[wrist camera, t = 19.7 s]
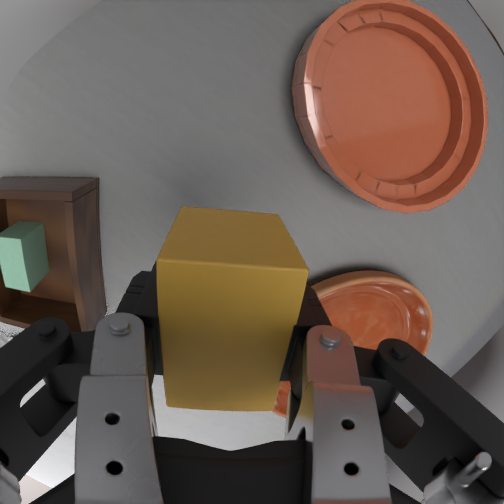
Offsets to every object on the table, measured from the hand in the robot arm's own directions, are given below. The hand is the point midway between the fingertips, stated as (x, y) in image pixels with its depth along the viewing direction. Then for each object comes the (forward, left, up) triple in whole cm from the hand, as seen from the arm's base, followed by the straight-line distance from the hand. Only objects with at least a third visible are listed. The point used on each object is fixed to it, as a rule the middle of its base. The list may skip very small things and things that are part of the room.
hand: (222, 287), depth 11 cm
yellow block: (0, 0, -1) cm, 1 cm away
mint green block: (+7, -20, -16) cm, 26 cm away
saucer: (+17, +16, -17) cm, 29 cm away
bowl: (-11, +14, -16) cm, 24 cm away
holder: (+7, -18, -16) cm, 25 cm away
